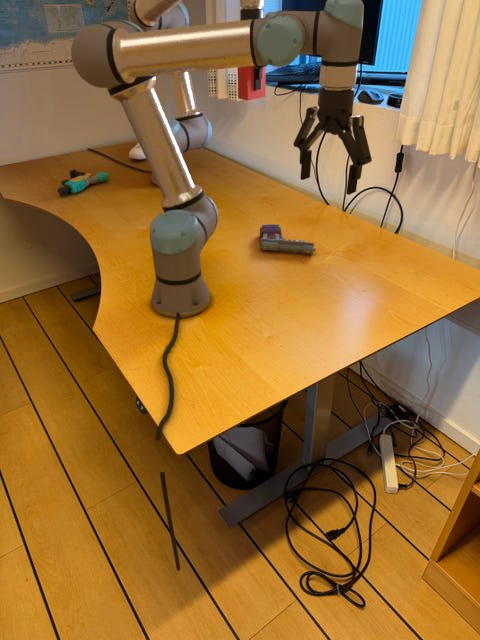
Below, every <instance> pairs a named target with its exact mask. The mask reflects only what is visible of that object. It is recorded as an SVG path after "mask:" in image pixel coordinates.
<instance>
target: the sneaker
mask: <svg viewBox="0 0 480 640" xmlns="http://www.w3.org/2000/svg"><path fill="white" fill-rule="evenodd" d="M128 156H129V157H128V158H129V159H132V160H138V161H139V160H147V159H146V157H145V155H144V153H143V151H142V148H141V146H140V144H139V142H137V143H136V144H135V146H133V148H131V149H130V151H129V152H128Z"/></svg>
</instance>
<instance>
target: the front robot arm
mask: <svg viewBox="0 0 480 640" xmlns="http://www.w3.org/2000/svg"><path fill="white" fill-rule="evenodd" d="M363 2H364V1H363V0H326V2H325V5H324V8H323V10H317V11H308V10H307V11H305V10H302V11H301V10H274V11H268V12H267V13H265V14H264V18H258V19H250V20H242V21H240V20H235V21H234V20H233V21H225V22H217V23H209V24H208V23H207V24H199V25H189V27H181V28H172V29H163V30H154V31H146V32H144V31H143V30H142V29H141V28H140V27H139V26H137V25H136V24H134V23H132V22H130V20H123V19H112V20H108V21H105V22H99V23H95V24H89V25H86V26H84V27H83V28H82V29H80V30H79V31H78V32H77V33H76V35H75V36H74V38H73V40H72V43H71V47H70V56H71V61H72V64H73V67H74V69H75V71H76V73H77V74H78V76H79V77H80V78H81V79H82V80H83V81H84V82H86V83H87V84H88V85H91V86H93V87H96V88H100V89H106V91H107V92H108V94H109V96H110V98H112V99H113V100H116V101H118V102H119V103H120V105H121V107H122V109H123V111H124V113H125V116H126V117H127V120H128V122H129V125H130V126H131V129H132V131H133V133H134V135H135V138H136V140H137V141H138V142H139V144H140V146H141V148H142V151H143V153H144V155H145V157H146V159H145V160H146V162H147V164H148V166H149V168H150V171H152V173H153V175H154V177H155V179H156V181H157V183H158V186H159V187H158V186H157V187H158V188H159V190H160V192H161V195H162V196H163V198H162V200H161V203H160V206H161V209H162V211H163V213H162V212H161V213H159V214H157V215H156V216H155V217H154V218H153V219H152V221H151V222H150V225H149V241H150V247H151V253H152V260H153V261H152V262H153V268H154V274H155V275H154V276H155V281H154V284H153V290H152V294H151V305H152V308H153V310H154V311H155V312H156V313H157V314H159V315H160V316H163V317H167V318H171V319H175V321H174V328H173V330H174V331H173V334H172V335H173V336H172V337H171V340H170V341H169V343H168V345H167V346H166V348H165V349H164V351H163V354H162V367H163V369H164V371H165V374H166V376H167V381H168V390H169V391H168V392H169V398H168V405H167V409H166V413H165V414H164V416H163V417H162V419H161V420H160V422H159V423H158V427H157V429H156V433H155V441H156V442H159V441H160V440H161V438H162V432H163V428H164V426H165V424H167V421H168V420H169V418H170V417H171V414H172V413H173V408H174V402H175V388H174V387H175V386H174V378H173V375H172V372H171V370H170V368H169V365H168V355H169V352H170V350H171V349H172V347H174V344H175V342H176V340H177V337H178V335H179V326H180V325H179V324H180V319H183V318H185V319H186V318H190V317H194V316H196V315H199V314H201V313H202V312H204V311H205V310H207V308H208V307H209V306H210V303H211V294H210V293H211V292H210V290H209V288H208V286H207V284H206V281H205V278H204V277H203V275H202V262H201V261H202V259H201V253H202V250H203V249H204V247H205V246H206V244H207V243H208V241H209V239H210V238H211V237H212V236H213V235H214V233H215V231H216V229H217V226H218V223H219V210H218V207H217V205H216V203H215V202H214V200H213V199H212V198H211V197H210V196H209V197H208V196H207V195H206V193H205V192H204V190H203V187H202V186H200V185H198V184H195V182H194V180H193V178H192V175H191V173H190V171H189V168H188V166H187V164H186V161H185V159H184V157H183V153H182V154H181V151H180V149H179V147H178V144H177V142H176V139H175V137H174V135H173V132H172V130H171V127H170V125H169V123H168V120H169V119H168V118H167V115H166V113H165V111H164V108H163V105H162V104H161V100H160V99H159V97H158V93H157V92H156V89H155V85H156V81H157V76H160V75H163V76H164V75H169V74H173V73H184V72H190V73H192V72H203V71H215V70H224V69H225V70H226V69H235V68H238V67H247V66H258V65H259V66H262V65H267V66H272V67H275V68H279V67H285V66H288V65H290V64H292V63H293V62H294V61H295V60H296V59H297V58H298V57H299V55H303V56H304V55H313V56H317V55H321V57H320V58H321V60H320V69H319V70H320V71H319V80H318V84H319V86H321V87H319V89H318V95H317V106H316V105H314V106H310V107H307V109H306V111H305V116H304V117H305V118H304V120H303V121H302V124H301V126H300V128H299V130H298V132H297V135H296V137H295V139H294V141H293V145H292V146H293V147H294V148H297V149H298V150H299V165H301V166H300V180H301V181H304V180H307V179H309V178H311V168H312V156H313V150H311V147H312V146H313V145H314V144H315V142H316V141H317V140H318V139H319V137H321V136H322V134H323V133H324V134H331V135H333V136H337V137H338V139H340V140H341V142H342V144H343V146H344V148H345V150H346V153H347V155H348V156H349V158H350V160H351V162H352V164H350V165H349V168H348V177H347V184H346V185H347V186H346V193H345V194H346V195H350V196H351V194H354V193H356V192H357V188H358V187H357V186H358V180H361V178H362V173H363V166H365V165H367V164H370V163H372V161H373V159H372V154H371V151H370V146H369V142H368V139H367V135H366V130H365V116H364V115H362V114H360V115H357V116H355V115H352V110H353V106H354V101H355V93H356V91H355V88H354V87H355V86H356V85H357V84H356V83H357V76H358V75H357V74H358V66H359V58H360V50H361V42H362V34H363V29H364V28H363V27H364V13H365V4H364V3H363ZM316 119H317V120H318V123H317V124H316V125H315V126H314V127H313V125H314V123H315V121H316ZM312 128H313V130H312ZM311 130H312V131H311ZM138 142H137V143H138ZM152 173H151V174H152ZM159 477H160V483H161V490H162V497H163V504H164V509H165V514H166V520H167V525H168V532H169V536H170V540H171V545H172V551H173V556H174V562H175V568H176V571H177V572H179V571H181V563H180V558H179V551H178V546H177V540H176V534H175V529H174V524H173V518H172V512H171V506H170V501H169V493H168V487H167V479H166V473H165V471H159Z"/></svg>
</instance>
